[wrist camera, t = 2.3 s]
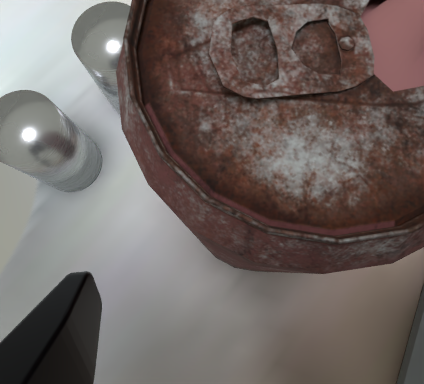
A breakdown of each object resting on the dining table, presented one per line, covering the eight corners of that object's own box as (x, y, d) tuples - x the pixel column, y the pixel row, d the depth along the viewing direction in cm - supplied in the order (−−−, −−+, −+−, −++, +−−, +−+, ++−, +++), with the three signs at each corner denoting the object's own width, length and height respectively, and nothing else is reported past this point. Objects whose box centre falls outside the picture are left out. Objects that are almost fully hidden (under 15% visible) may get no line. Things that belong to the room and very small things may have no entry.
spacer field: (466, 154, 19) (577, 102, 13) (43, 194, 19) (-39, 161, 13) (435, 19, 20) (521, -84, 14) (43, 58, 21) (-30, -26, 15)
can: (347, 204, 18) (698, 14, 5) (253, 297, 18) (345, 394, 4) (258, 119, 19) (334, -238, 6) (166, 205, 19) (2, 29, 5)
